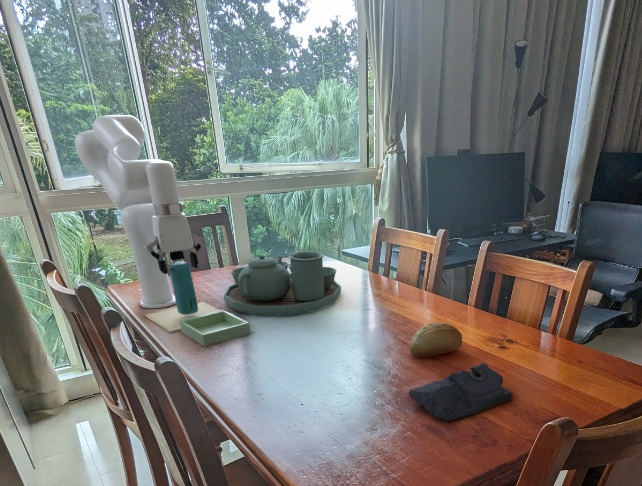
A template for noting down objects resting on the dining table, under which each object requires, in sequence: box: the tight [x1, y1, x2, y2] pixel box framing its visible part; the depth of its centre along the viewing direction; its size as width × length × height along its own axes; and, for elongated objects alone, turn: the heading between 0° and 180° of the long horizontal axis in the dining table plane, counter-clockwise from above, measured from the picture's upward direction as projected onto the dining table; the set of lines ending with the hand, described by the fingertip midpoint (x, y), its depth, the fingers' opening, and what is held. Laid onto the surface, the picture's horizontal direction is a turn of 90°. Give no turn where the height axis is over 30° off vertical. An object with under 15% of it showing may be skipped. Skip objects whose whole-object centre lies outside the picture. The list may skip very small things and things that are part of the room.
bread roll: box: [409, 321, 463, 358], centre depth 132 cm, size 10×15×8 cm, turn 114°
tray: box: [179, 309, 251, 347], centre depth 150 cm, size 16×15×3 cm
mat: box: [145, 301, 221, 334], centre depth 163 cm, size 20×20×1 cm
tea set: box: [223, 250, 342, 317], centre depth 174 cm, size 40×40×16 cm
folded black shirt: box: [408, 362, 513, 422], centre depth 112 cm, size 15×22×5 cm
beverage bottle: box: [168, 250, 198, 315], centre depth 157 cm, size 6×7×20 cm
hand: (180, 270), depth 155 cm, fingers open, 9 cm apart
